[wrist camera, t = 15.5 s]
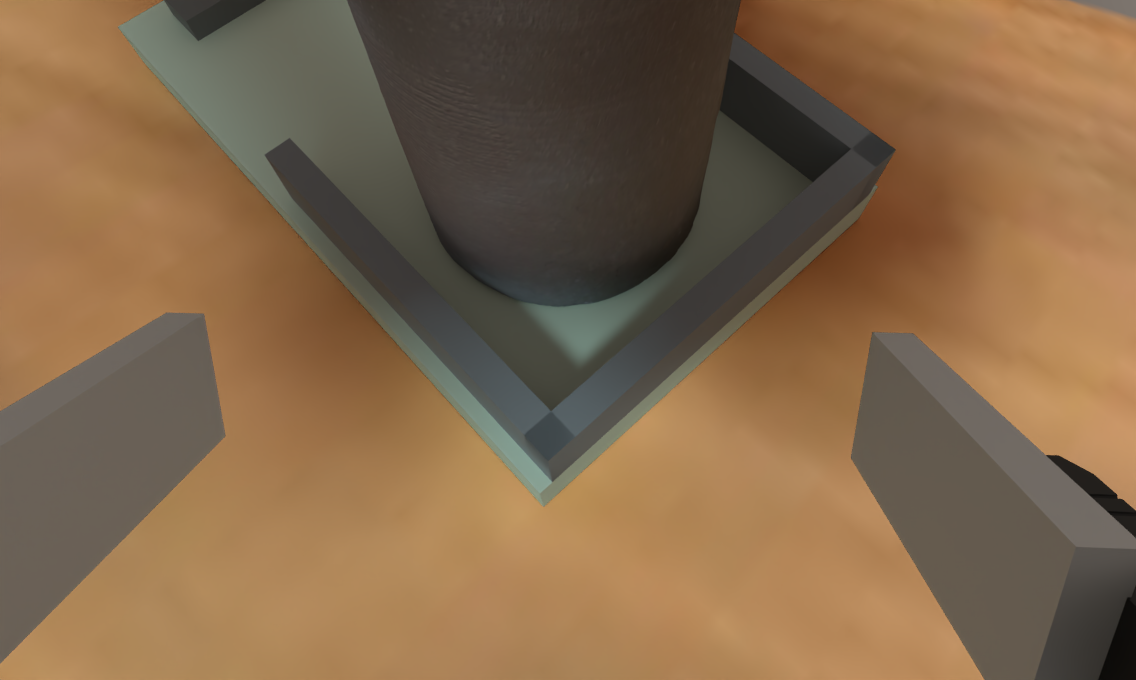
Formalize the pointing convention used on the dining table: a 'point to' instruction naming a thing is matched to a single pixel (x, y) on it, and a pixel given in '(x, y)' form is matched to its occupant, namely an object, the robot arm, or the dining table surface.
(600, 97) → the pillar candle
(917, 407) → the robot arm
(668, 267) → the deck plate
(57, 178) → the dining table surface
